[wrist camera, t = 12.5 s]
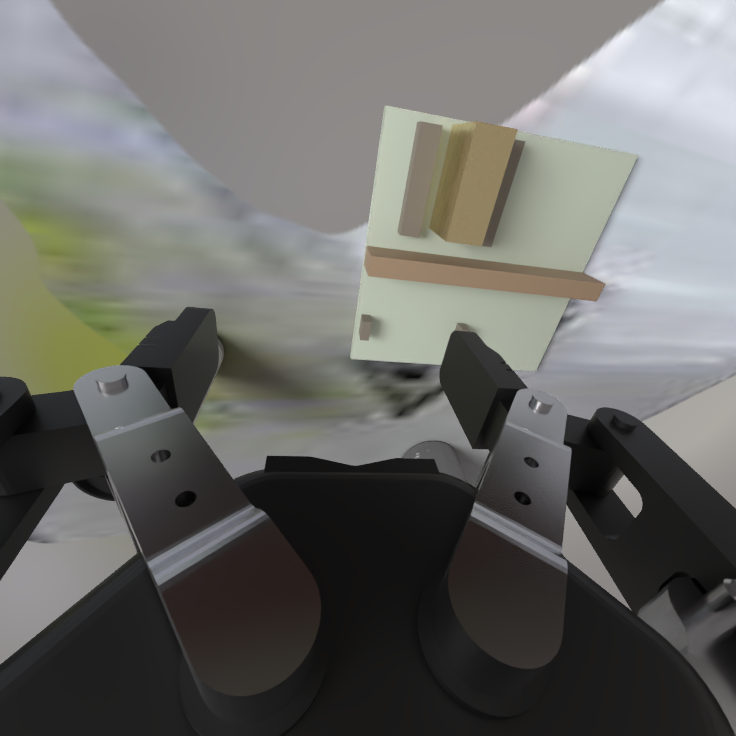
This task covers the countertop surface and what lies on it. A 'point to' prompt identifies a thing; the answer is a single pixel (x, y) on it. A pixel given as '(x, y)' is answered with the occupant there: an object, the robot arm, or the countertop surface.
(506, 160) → the bar
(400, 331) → the door board
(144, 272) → the countertop surface
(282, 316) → the countertop surface
